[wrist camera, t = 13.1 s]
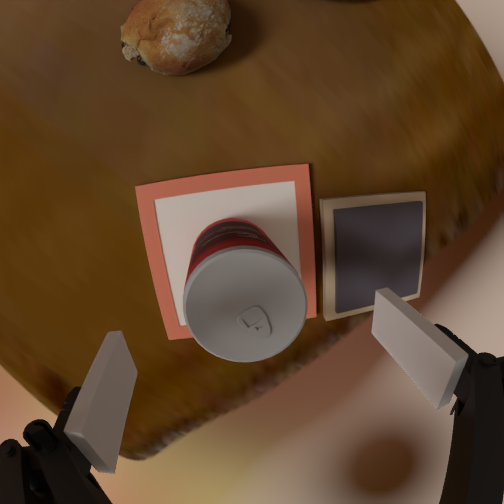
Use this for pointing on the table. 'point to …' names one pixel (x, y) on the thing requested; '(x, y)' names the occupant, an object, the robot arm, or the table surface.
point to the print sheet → (217, 208)
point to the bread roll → (176, 34)
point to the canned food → (242, 293)
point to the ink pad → (371, 249)
